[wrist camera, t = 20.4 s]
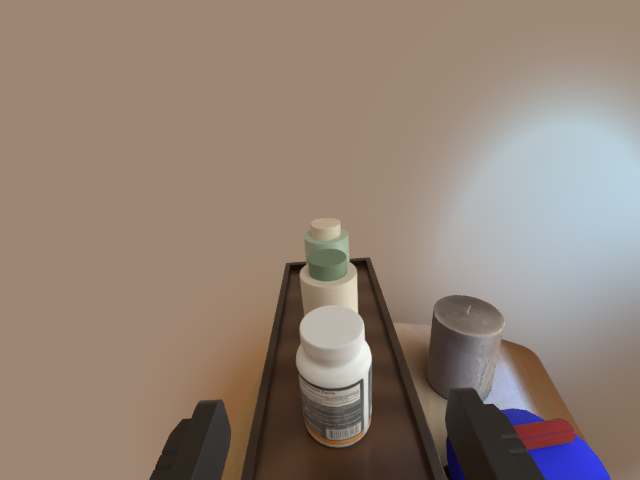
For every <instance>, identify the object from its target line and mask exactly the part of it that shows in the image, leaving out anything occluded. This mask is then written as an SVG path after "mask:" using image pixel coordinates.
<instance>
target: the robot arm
mask: <svg viewBox="0 0 640 480" xmlns="http://www.w3.org/2000/svg"><path fill="white" fill-rule="evenodd" d="M445 423H446V429H447V433H448V436H449V439H450V441H451V444H452V446H453V449H454V451H455V454H456V456H457V459H458V461H459V464H460V466H461V469H462V472H463V474H464V477H465V479H466V480H546V479H545V477H544V476H543V474H542V472H541V471H540V469H539V467H538V466H537V464H536V463H535V461H534V459H533V458H532V456H531V454H529V453H528V450H527V448H526V446H525V445H524V443H523V441H522V440H521V439H520V438H519V435H518V433H517V432H516V430H515V428H514V427H513V425H512V423H511V422H510V420H509V418H508V417H507V416H505V415H504V414H503V413H502V412H501V411H500V410H499V409H498V408H497V407H496V406H495V405H494V404H484V403H483V402H482V400H481V398H480V396H479V394H478V393H477V391H476V390H475V389H474V388H473V387H466V388H450V390H449V394H448V401H447V408H446V415H445ZM230 439H231V428H230V424H229V421H228V417H227V413H226V410H225V407H224V403H223V401H222V400H204V401H200V402H199V403H198V404H197V406H196V408H195V410H194V413H193V415H192V418H191V419H182V421H181V422H180V423H179V424H178V425H177V427H176V428H175V429H174V430H173V431H172V433H171V434H170V435H169V438H168V440H167V442H166V444H165V446H164V449H163V451H162V455H161V456H160V457H159V460H158V462H157V464H156V467H155V470H154V471H153V473H152V475H151V477H150V480H221V477H222V473H223V469H224V465H225V461H226V458H227V454H228V450H229V446H230Z"/></svg>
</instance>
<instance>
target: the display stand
mask: <svg viewBox="0 0 640 480" xmlns="http://www.w3.org/2000/svg"><path fill="white" fill-rule="evenodd" d="M349 262H350V263H352V264H353V265H354V266H355V267H356V269H357V292H358V314H359V315H360V316H361V318H362V320H363V322H364V331H365V341H366V342H367V344H368V346H369V348H370V351H371V357H372V413H371V422H370V426H369V428H368V430H367V432H366V434H365V435H364V436H363V437H362V438H361V439H360V440H359V441H357V442H356V443H354V444H352V445H350V446H347V447H340V448H336V447H329V446H326V445H324V444H321V443H320V442H318V441H317V440H315V439H314V438H313V436H312V435H311V434H310V433H309V431H308V429H307V427H306V424H305V420H304V415H303V408H302V402H301V395H300V389H299V381H298V374H297V368H296V355H297V350H298V348H299V346H300V344H301V340H300V324H301V321H302V319H303V318H304V309H303V300H302V292H301V283H300V271H301V269H302V268H303V267H304V266H305V265H307V262H295V263H286V266H285V271H284V275H283V280H282V285H281V290H280V295H279V299H278V304H277V309H276V314H275V318H274V323H273V328H272V333H271V337H270V343H269V348H268V352H267V357H266V361H265V366H264V371H263V376H262V380H261V385H260V390H259V395H258V400H257V404H256V409H255V414H254V419H253V423H252V428H251V433H250V438H249V442H248V447H247V452H246V457H245V462H244V466H243V471H242V476H241V480H447V478H446V475H445V473H444V470H443V467H442V464H441V461H440V458H439V455H438V452H437V450H436V447H435V444H434V441H433V438H432V435H431V432H430V429H429V426H428V424H427V421H426V418H425V415H424V412H423V409H422V406H421V403H420V401H419V398H418V395H417V392H416V389H415V386H414V383H413V380H412V378H411V375H410V372H409V369H408V366H407V363H406V360H405V357H404V354H403V352H402V349H401V346H400V343H399V340H398V337H397V334H396V331H395V329H394V326H393V323H392V320H391V317H390V314H389V311H388V308H387V306H386V303H385V300H384V297H383V294H382V291H381V288H380V285H379V283H378V280H377V277H376V274H375V271H374V268H373V265H372V263H371V260H370V258H356V259H349Z"/></svg>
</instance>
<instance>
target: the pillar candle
mask: <svg viewBox="0 0 640 480" xmlns="http://www.w3.org/2000/svg"><path fill="white" fill-rule="evenodd" d="M504 323H505V321H504V318H503V316H502V314H501V313H500V312H499V311H498V310H497V309H496V308H495V307H494V306H492V305H491V304H489V303H487V302H485V301H483V300H480V299H477V298H473V297H469V296H460V295H459V296H458V295H453V296H447V297H444V298H442V299H440V300H438V301H437V302H436V304H435V306H434V311H433V319H432V329H431V339H430V349H429V358H428V368H427V376H428V380H429V382H430V384H431V386H432V387H433V389H434V390H435V391H437V392H438V393H439V394H440V395H441V396H443V397H445V398H447V399H448V394H449V390H450V388H466V387H473V388H474V389H475V390H476V391H477V393H478V394H479V396H480V398H481V400H482V401H484V400H485V399H486V398H487V396H488V394H489V392H490V391H491V387H492V382H493V376H494V371H495V367H496V362H497V357H498V352H499V347H500V342H501V337H502V333H503V328H504Z"/></svg>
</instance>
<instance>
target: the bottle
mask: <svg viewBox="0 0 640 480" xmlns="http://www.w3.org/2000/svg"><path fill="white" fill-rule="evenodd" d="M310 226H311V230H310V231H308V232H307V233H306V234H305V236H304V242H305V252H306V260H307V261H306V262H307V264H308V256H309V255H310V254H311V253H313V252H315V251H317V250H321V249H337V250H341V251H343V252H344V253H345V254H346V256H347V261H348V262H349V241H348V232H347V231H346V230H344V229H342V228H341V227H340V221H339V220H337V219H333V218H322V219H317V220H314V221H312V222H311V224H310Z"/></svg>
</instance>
